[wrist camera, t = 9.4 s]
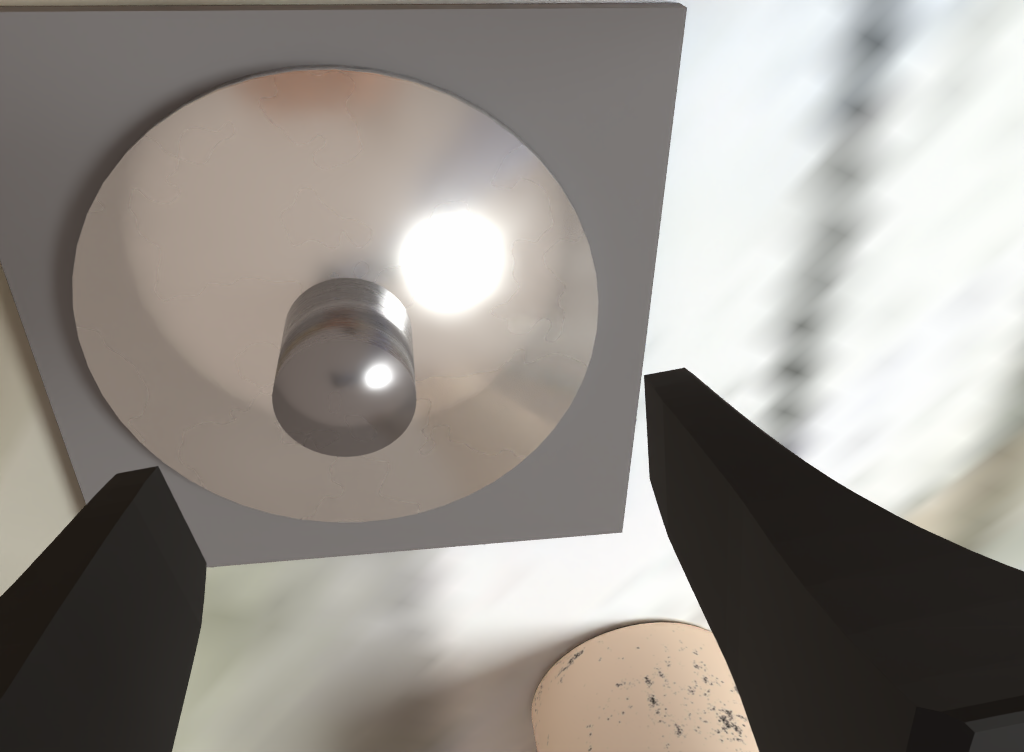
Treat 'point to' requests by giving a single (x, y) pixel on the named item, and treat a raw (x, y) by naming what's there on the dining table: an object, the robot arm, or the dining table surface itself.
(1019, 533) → the dining table surface
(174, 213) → the steel lid
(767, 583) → the robot arm
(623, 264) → the charcoal mat
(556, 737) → the teacup with lid
